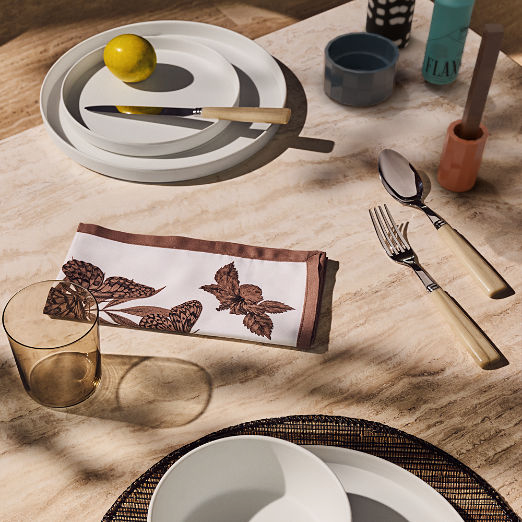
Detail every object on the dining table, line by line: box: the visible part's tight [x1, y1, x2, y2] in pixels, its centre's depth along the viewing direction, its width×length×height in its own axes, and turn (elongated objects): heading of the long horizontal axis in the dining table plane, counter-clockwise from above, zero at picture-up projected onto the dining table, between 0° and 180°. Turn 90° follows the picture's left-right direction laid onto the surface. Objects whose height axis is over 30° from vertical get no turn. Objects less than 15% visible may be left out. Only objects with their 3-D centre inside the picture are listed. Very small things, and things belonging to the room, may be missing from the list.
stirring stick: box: [458, 23, 506, 141], centre depth 92 cm, size 2×2×24 cm
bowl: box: [322, 31, 401, 107], centre depth 115 cm, size 12×12×7 cm
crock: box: [436, 118, 490, 193], centre depth 98 cm, size 6×6×9 cm
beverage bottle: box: [420, 0, 476, 86], centre depth 111 cm, size 6×7×20 cm
